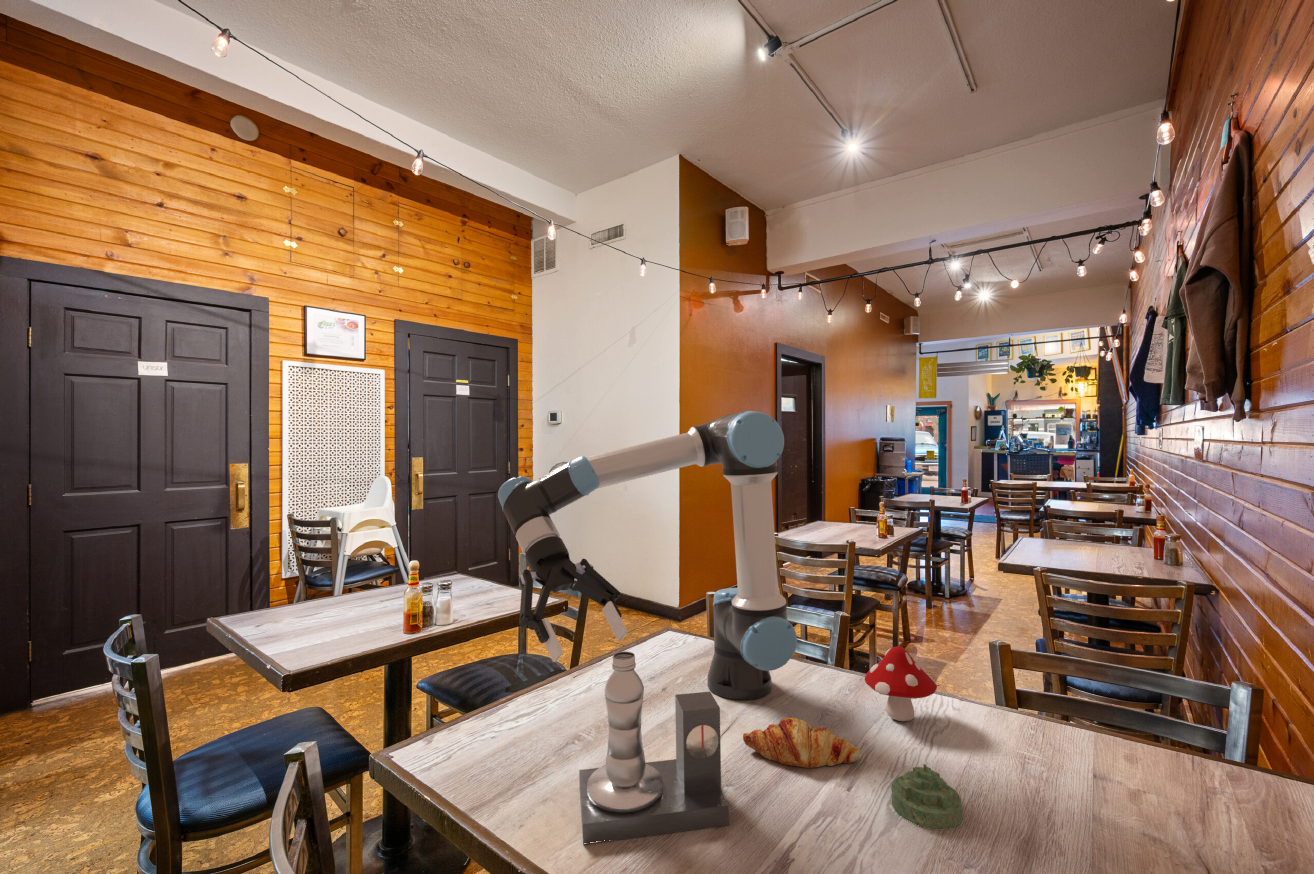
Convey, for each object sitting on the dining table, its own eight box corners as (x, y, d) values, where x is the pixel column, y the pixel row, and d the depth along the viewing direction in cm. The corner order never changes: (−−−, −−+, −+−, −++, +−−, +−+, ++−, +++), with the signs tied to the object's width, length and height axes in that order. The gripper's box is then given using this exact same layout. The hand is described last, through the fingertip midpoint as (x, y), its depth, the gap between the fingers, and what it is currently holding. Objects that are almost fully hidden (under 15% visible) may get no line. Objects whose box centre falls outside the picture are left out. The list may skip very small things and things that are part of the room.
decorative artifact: (968, 806, 91) (902, 783, 97) (967, 761, 91) (901, 741, 97) (953, 840, 83) (883, 813, 89) (952, 792, 83) (882, 768, 89)
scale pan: (655, 763, 98) (655, 757, 98) (669, 806, 86) (669, 800, 86) (585, 771, 96) (585, 765, 96) (589, 817, 84) (589, 810, 84)
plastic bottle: (648, 769, 94) (646, 648, 95) (643, 794, 88) (641, 663, 88) (609, 768, 95) (607, 647, 95) (601, 792, 88) (599, 663, 88)
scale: (705, 772, 100) (704, 681, 101) (728, 825, 87) (727, 719, 87) (579, 787, 97) (578, 692, 97) (583, 844, 83) (581, 734, 83)
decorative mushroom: (927, 705, 125) (926, 636, 125) (948, 737, 111) (946, 660, 111) (860, 701, 127) (858, 634, 127) (872, 732, 113) (870, 656, 114)
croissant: (859, 773, 106) (856, 725, 109) (866, 775, 97) (863, 723, 101) (743, 759, 110) (744, 713, 114) (740, 760, 101) (742, 710, 105)
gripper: (588, 549, 118) (637, 639, 107) (474, 569, 101) (518, 679, 90) (603, 526, 114) (656, 617, 103) (487, 543, 97) (536, 654, 86)
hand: (592, 646), depth 97 cm, fingers open, 13 cm apart
